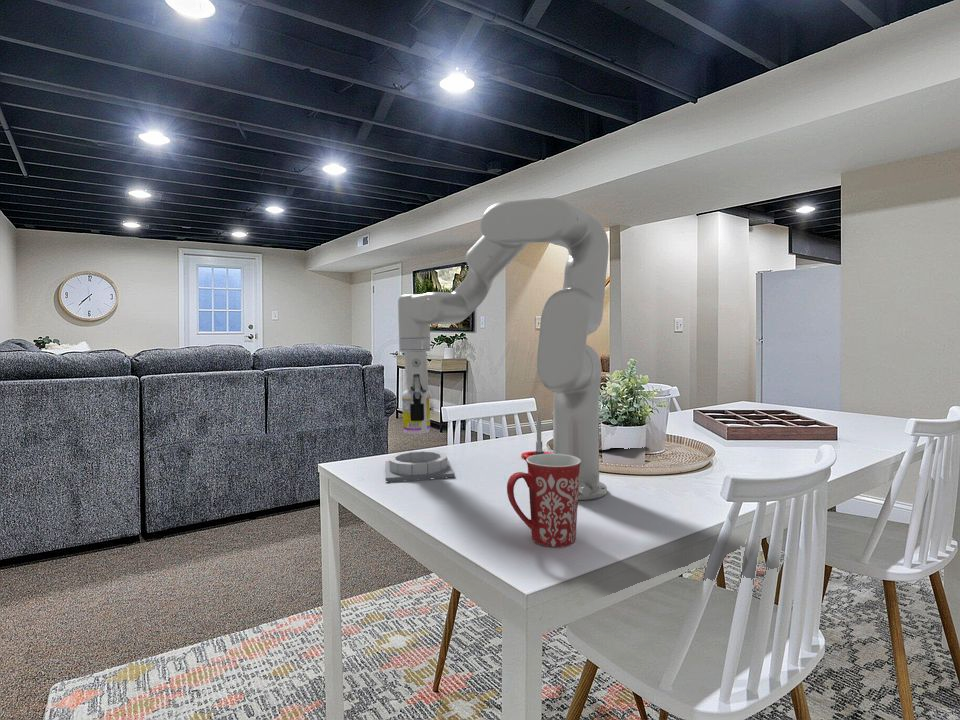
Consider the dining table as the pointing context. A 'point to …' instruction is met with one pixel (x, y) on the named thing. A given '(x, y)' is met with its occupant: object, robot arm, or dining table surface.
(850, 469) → the dining table surface
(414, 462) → the ring block
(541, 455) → the mug
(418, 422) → the supplement bottle
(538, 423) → the tow hook
